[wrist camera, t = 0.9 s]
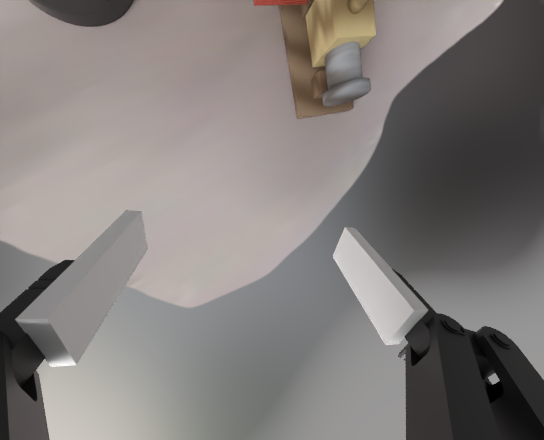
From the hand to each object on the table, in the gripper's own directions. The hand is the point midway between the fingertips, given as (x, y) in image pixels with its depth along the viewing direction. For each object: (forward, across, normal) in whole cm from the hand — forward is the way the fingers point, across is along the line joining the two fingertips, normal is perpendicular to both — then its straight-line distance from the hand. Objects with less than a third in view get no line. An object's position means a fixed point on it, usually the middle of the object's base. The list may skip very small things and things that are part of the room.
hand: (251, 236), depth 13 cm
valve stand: (+33, +11, +17) cm, 39 cm away
